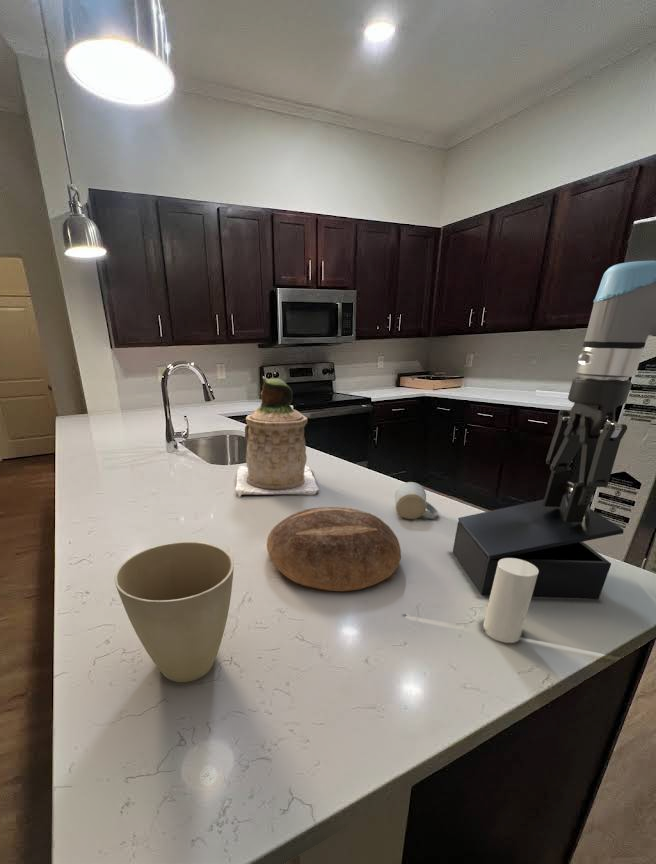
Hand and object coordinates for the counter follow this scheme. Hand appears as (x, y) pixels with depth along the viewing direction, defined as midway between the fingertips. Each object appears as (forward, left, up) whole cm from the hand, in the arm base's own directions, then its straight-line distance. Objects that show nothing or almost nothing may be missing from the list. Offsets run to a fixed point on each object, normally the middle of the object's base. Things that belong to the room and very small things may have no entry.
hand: (561, 513), depth 74 cm
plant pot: (+52, +42, -14) cm, 69 cm away
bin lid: (+4, +1, -3) cm, 5 cm away
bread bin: (+4, +1, -13) cm, 14 cm away
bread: (+39, +6, -14) cm, 42 cm away
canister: (+10, +20, -13) cm, 26 cm away
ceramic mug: (+24, -23, -14) cm, 36 cm away
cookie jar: (+66, -35, -14) cm, 76 cm away
